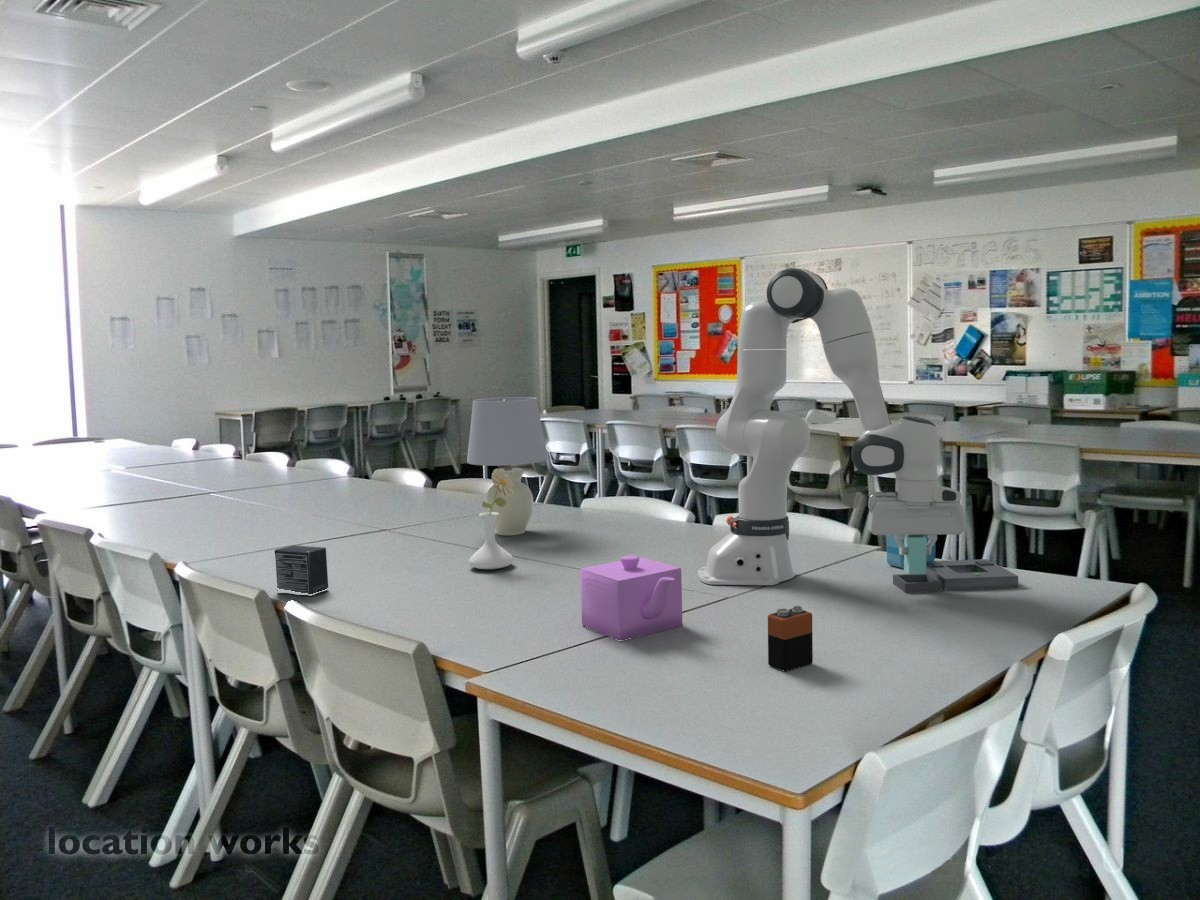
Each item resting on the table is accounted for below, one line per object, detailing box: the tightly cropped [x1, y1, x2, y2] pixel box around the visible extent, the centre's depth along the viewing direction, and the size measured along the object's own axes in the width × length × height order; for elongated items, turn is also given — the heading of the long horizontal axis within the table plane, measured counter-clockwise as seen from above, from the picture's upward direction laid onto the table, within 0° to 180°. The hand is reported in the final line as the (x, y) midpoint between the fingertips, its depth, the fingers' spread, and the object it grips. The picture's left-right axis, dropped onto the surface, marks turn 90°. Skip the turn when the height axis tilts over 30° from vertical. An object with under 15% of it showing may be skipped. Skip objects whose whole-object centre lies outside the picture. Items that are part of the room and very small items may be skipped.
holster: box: [892, 573, 943, 594], centre depth 208 cm, size 8×8×2 cm
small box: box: [274, 544, 329, 594], centre depth 221 cm, size 11×6×10 cm, turn 65°
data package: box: [886, 535, 936, 569], centre depth 228 cm, size 12×4×12 cm, turn 120°
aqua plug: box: [903, 535, 927, 574], centre depth 206 cm, size 4×4×9 cm
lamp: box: [466, 396, 549, 537], centre depth 281 cm, size 24×24×40 cm
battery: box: [767, 605, 814, 672], centre depth 161 cm, size 4×7×10 cm, turn 123°
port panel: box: [926, 558, 1019, 591], centre depth 213 cm, size 16×16×3 cm
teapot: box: [579, 555, 684, 641], centre depth 185 cm, size 15×25×14 cm, turn 34°
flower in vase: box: [468, 468, 515, 570], centre depth 239 cm, size 13×11×25 cm
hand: (915, 554), depth 207 cm, fingers closed on aqua plug, 4 cm apart
